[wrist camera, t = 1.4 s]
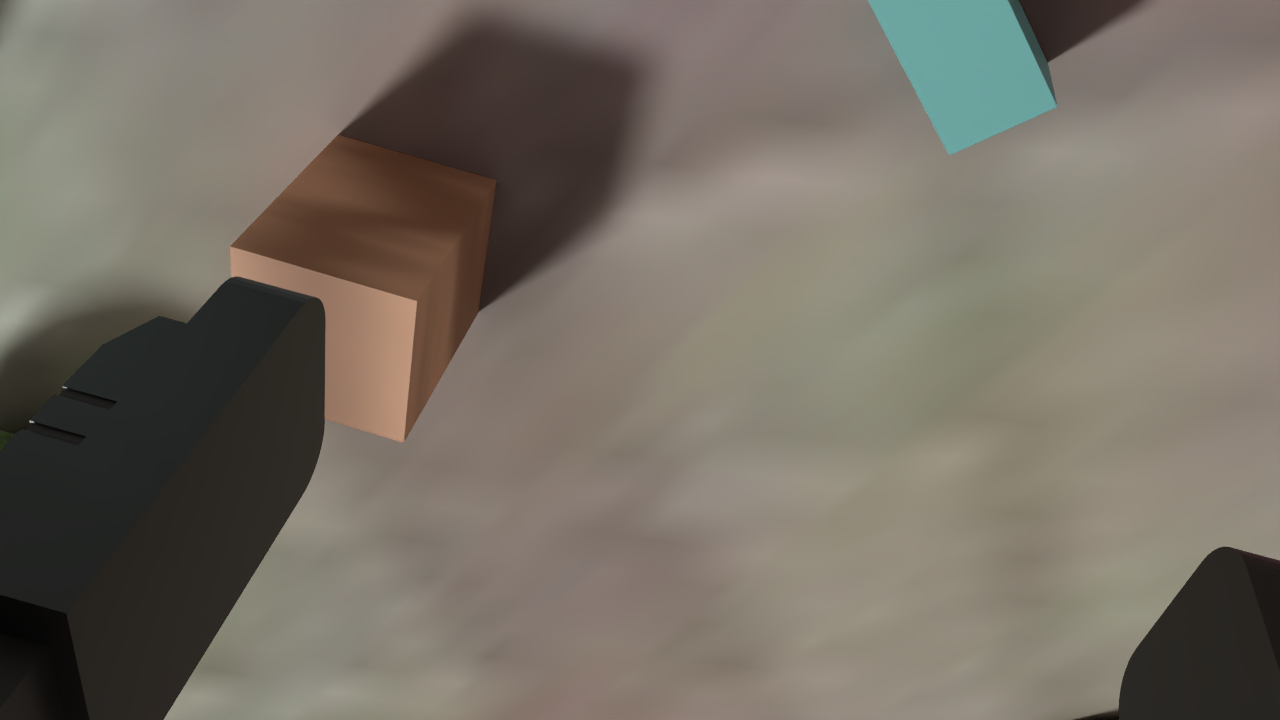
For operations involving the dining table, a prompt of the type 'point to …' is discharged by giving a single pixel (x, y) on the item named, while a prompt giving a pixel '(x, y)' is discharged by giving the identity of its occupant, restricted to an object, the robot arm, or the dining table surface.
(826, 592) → the dining table surface
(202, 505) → the robot arm
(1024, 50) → the teal block
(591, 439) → the dining table surface
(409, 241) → the brown block
